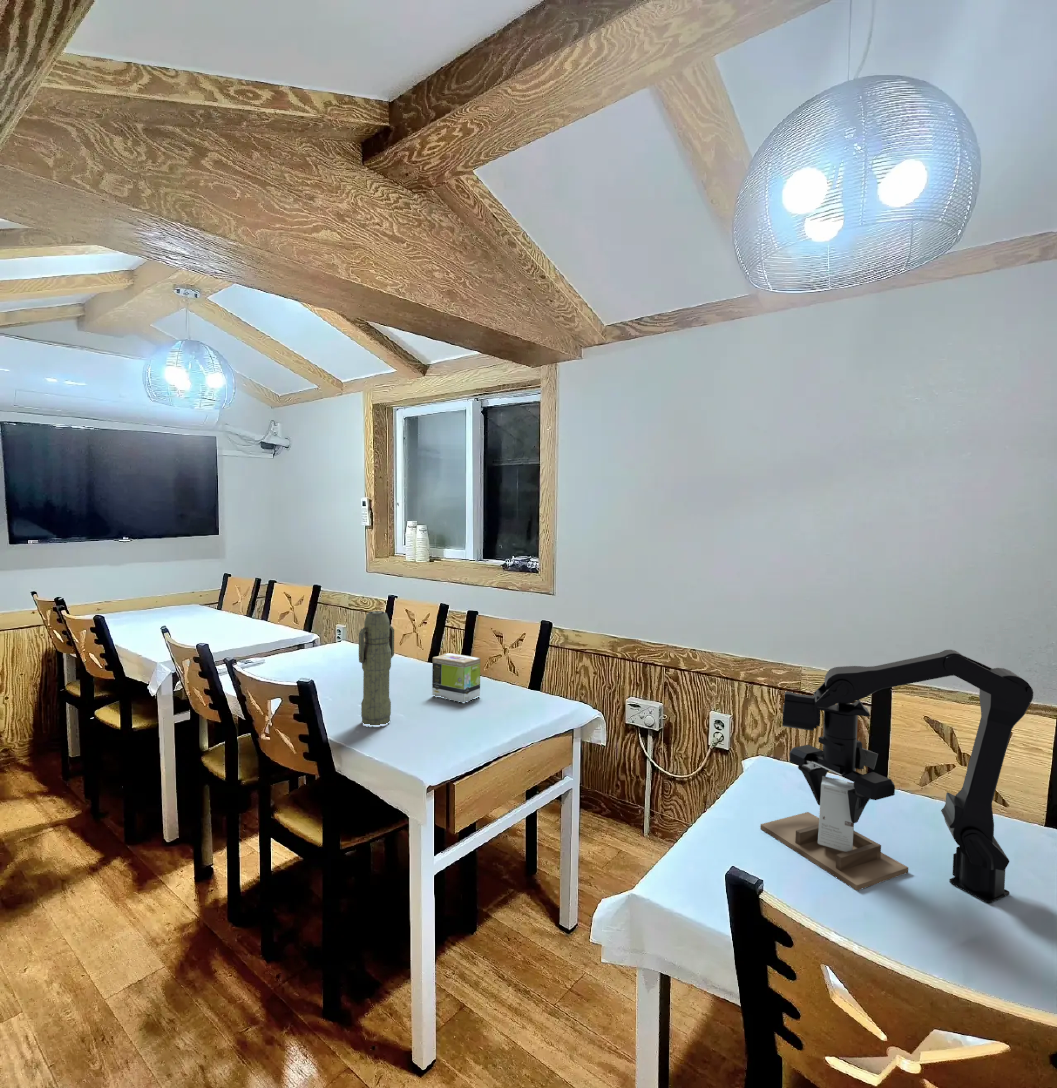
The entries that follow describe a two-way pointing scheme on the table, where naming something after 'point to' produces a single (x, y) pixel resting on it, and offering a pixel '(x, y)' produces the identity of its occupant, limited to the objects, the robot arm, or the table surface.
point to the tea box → (456, 677)
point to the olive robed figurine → (376, 667)
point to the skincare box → (835, 815)
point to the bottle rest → (836, 852)
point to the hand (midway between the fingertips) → (837, 813)
